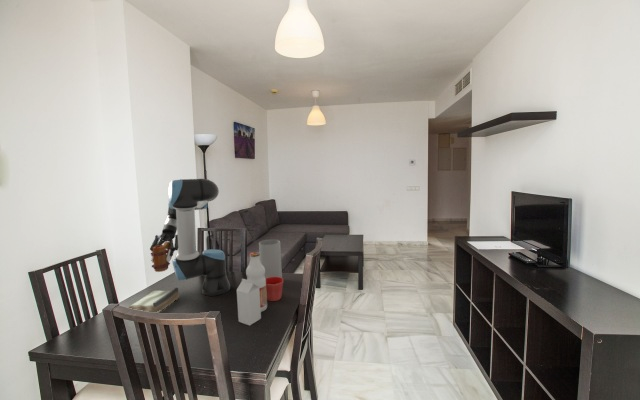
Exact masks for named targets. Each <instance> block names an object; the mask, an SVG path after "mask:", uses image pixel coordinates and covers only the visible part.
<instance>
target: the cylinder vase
mask: <svg viewBox="0 0 640 400" xmlns="http://www.w3.org/2000/svg"><path fill="white" fill-rule="evenodd" d="M281 246H282V245H281V240H279V239H264V240H261V241H259V242H258V249H259V250H258V252H259V253H260V256H259V259H260V262H261V264H262V265H263V266H264V268H265V275H264V276H265V279H266V278H269V277H281V278H283V272H282V271H283V270H282V251H281V250H282V249H281Z"/></svg>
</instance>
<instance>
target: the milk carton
mask: <svg viewBox="0 0 640 400" xmlns="http://www.w3.org/2000/svg"><path fill="white" fill-rule="evenodd" d="M236 301H237V318H238V322H239V323H242V324H243V325H247V326H252V325H253V324H255V323H256V322H257V321H260V320H261V319H262V312H261V309H260V291H259V287H258V286H256V285H255V284H254V282H253V281H250V280H247V278H241V281H240V284H239V285H238V287H237V288H236Z"/></svg>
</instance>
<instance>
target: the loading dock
mask: <svg viewBox="0 0 640 400" xmlns="http://www.w3.org/2000/svg"><path fill="white" fill-rule="evenodd" d="M179 296H180V295H179V288H178V287H174V288H173V289H172V290H153V291H152V292H151V291H150V292H149V293H148V294H147V295H144V296H143V297H141V298H140V299H138V300H137V301H135V302H134V303H133V304H131V305H129V306H128V309H129V308H132V309H137V310H143V311H149V312H157V311H159V310H162V309H164V308H165V307H167V306H168V305H169V306H171V305H172V304H173V303H174V301H175V300H176V301H177V300H179V299H178V298H180V297H179ZM176 301H175V302H176ZM171 303H172V304H171ZM170 304H171V305H170ZM169 306H168V307H169ZM168 307H167V308H168ZM165 309H166V308H165ZM165 309H164V310H165Z"/></svg>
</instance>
